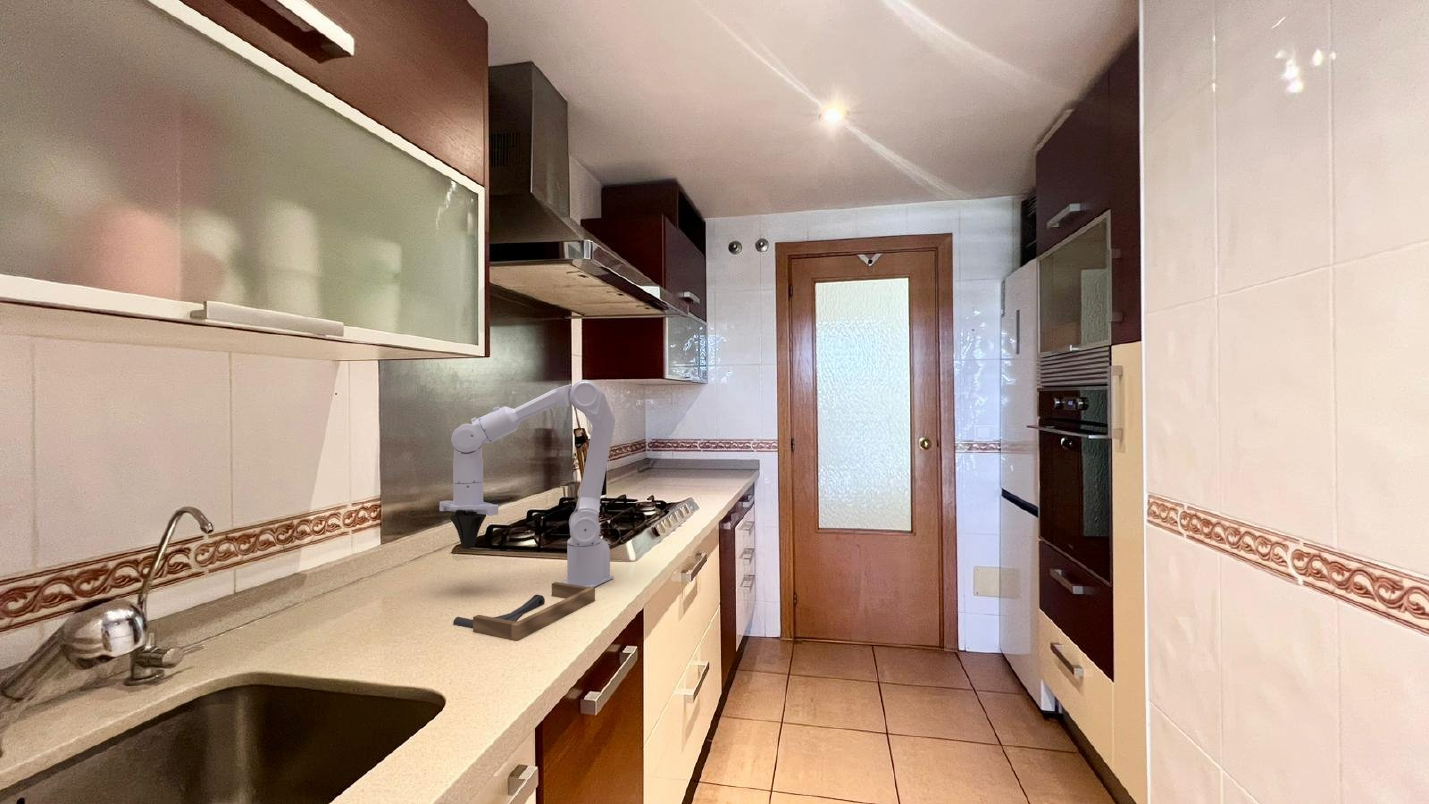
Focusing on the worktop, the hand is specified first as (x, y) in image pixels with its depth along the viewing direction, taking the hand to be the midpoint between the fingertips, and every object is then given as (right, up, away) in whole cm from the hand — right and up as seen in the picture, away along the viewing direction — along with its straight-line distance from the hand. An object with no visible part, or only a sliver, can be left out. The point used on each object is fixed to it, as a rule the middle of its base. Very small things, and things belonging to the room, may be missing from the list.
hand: (468, 547), depth 119 cm
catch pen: (+18, -9, -13) cm, 24 cm away
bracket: (+14, -10, -13) cm, 22 cm away
